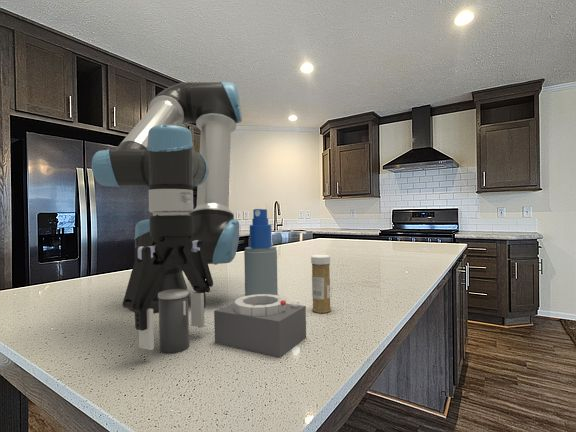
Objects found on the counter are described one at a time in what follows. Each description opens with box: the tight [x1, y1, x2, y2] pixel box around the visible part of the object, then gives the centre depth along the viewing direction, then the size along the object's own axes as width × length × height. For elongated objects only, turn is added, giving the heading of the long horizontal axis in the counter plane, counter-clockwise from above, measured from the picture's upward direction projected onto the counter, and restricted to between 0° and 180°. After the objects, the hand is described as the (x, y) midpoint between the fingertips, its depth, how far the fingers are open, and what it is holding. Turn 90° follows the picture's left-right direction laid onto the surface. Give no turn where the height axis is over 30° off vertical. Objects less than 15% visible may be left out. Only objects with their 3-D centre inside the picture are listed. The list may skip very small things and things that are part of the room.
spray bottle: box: [243, 208, 279, 296], centre depth 92 cm, size 9×9×25 cm
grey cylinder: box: [158, 289, 190, 355], centre depth 61 cm, size 5×5×10 cm
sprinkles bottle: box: [310, 254, 332, 314], centre depth 82 cm, size 5×5×13 cm
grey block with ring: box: [213, 294, 307, 358], centre depth 64 cm, size 14×10×8 cm
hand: (174, 336), depth 61 cm, fingers open, 11 cm apart
